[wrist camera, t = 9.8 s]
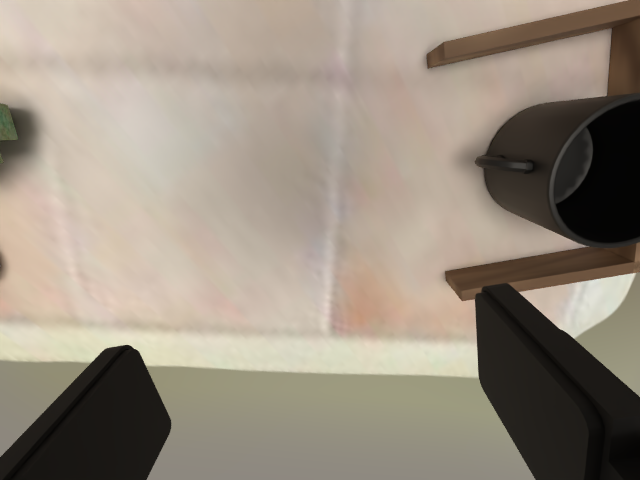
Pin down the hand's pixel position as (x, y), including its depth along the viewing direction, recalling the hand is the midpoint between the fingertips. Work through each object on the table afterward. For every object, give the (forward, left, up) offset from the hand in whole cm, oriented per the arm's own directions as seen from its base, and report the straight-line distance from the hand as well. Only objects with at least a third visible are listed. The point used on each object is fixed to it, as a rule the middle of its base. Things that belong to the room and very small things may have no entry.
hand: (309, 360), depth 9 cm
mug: (0, +18, -22) cm, 28 cm away
